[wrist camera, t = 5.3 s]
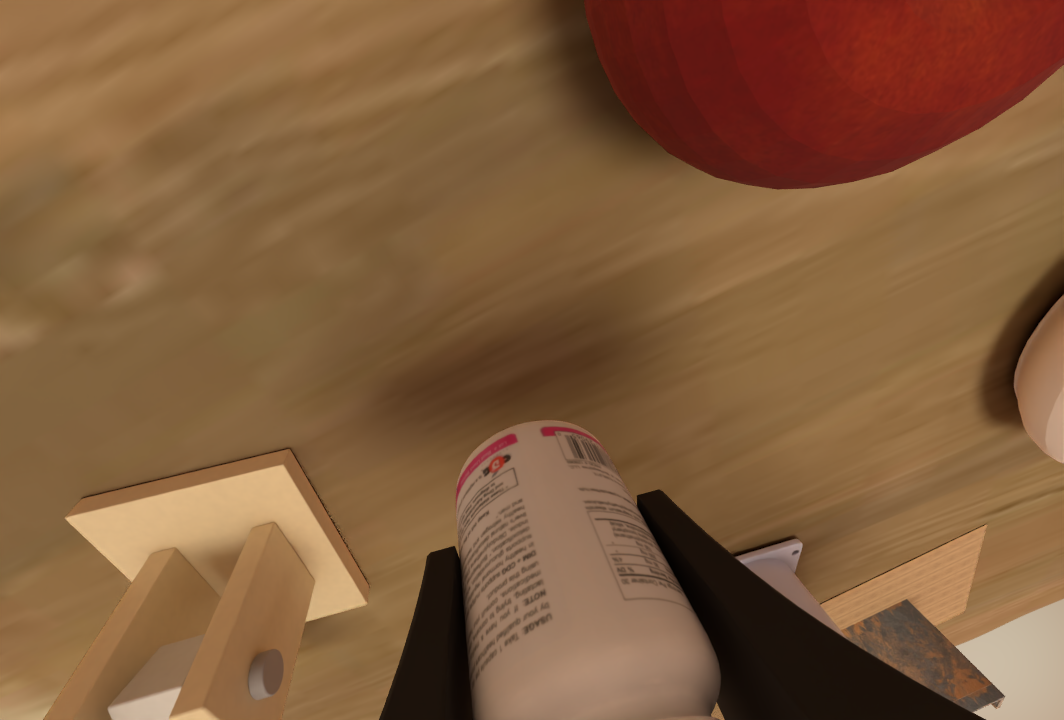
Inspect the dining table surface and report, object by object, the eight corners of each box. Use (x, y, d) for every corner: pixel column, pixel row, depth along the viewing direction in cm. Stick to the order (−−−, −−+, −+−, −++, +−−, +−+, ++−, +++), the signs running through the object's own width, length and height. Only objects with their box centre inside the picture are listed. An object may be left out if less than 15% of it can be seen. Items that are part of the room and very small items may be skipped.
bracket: (370, 586, 23) (345, 778, 16) (213, 630, 22) (118, 853, 15) (290, 448, 18) (205, 644, 11) (81, 498, 17) (-148, 744, 10)
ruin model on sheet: (742, 717, 44) (815, 854, 36) (711, 656, 36) (798, 818, 27) (964, 611, 43) (1092, 728, 35) (987, 523, 35) (1163, 650, 26)
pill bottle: (474, 547, 14) (524, 995, 7) (435, 440, 12) (447, 958, 4) (611, 507, 14) (791, 885, 7) (600, 396, 12) (855, 798, 5)
